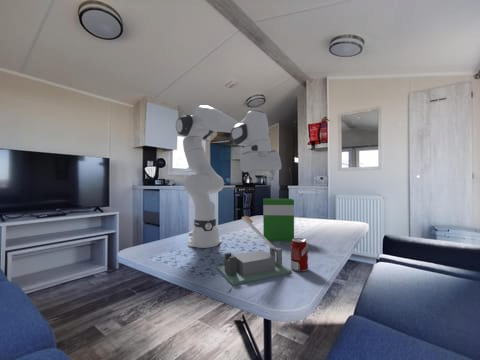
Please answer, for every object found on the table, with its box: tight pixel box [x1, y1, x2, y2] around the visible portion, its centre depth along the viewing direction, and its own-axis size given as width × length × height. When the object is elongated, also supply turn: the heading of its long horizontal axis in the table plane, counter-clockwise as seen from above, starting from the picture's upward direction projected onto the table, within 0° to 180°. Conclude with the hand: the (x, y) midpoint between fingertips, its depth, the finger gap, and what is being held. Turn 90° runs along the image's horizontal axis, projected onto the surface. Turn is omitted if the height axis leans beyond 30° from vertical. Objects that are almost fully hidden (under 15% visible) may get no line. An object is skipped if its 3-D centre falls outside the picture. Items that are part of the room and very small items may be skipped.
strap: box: [241, 215, 277, 253], centre depth 97 cm, size 3×22×2 cm
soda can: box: [290, 237, 309, 273], centre depth 97 cm, size 7×7×12 cm
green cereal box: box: [262, 198, 295, 242], centre depth 143 cm, size 18×7×24 cm, turn 83°
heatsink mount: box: [216, 244, 293, 286], centre depth 96 cm, size 16×25×8 cm, turn 115°
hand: (263, 181), depth 100 cm, fingers open, 8 cm apart
